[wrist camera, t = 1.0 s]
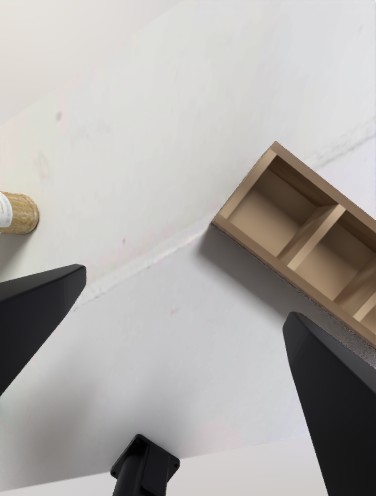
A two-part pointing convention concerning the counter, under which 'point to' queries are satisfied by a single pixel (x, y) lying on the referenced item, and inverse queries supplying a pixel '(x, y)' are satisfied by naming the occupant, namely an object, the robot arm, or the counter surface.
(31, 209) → the sprinkles bottle
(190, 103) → the counter surface
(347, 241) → the slot crate
